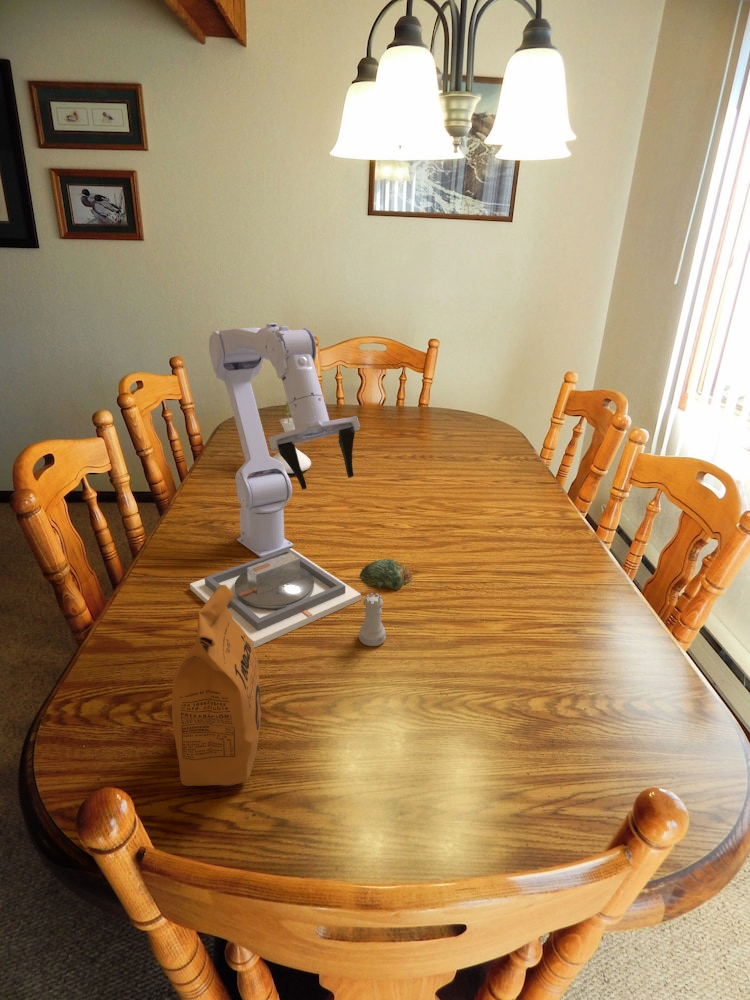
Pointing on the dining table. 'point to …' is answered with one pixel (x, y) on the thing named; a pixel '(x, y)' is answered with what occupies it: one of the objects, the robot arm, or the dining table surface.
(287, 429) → the flower in vase
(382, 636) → the rook chess piece
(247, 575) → the dial
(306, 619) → the dial panel
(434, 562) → the dining table surface
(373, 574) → the seashell
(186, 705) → the coffee package
